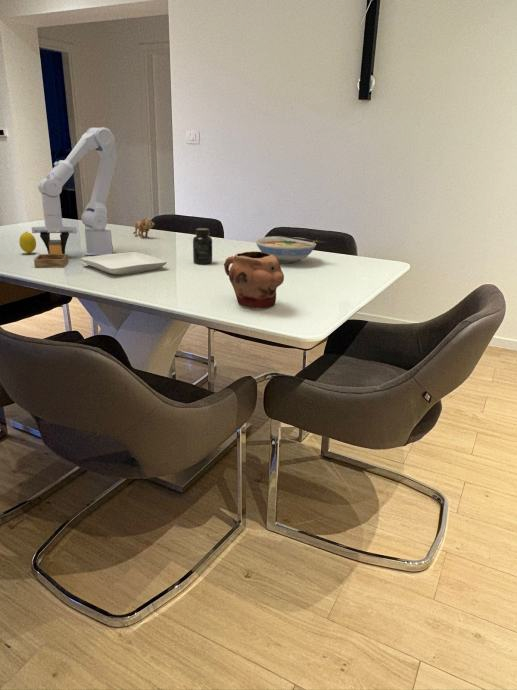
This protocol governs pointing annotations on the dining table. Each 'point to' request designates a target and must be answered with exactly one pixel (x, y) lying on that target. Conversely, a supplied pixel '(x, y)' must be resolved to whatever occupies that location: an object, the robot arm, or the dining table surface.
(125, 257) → the salad plate
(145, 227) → the lion figurine
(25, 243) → the lemon
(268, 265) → the decorative planter
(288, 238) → the ramen bowl
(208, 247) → the supplement bottle
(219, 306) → the dining table surface
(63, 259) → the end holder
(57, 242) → the honey jar
